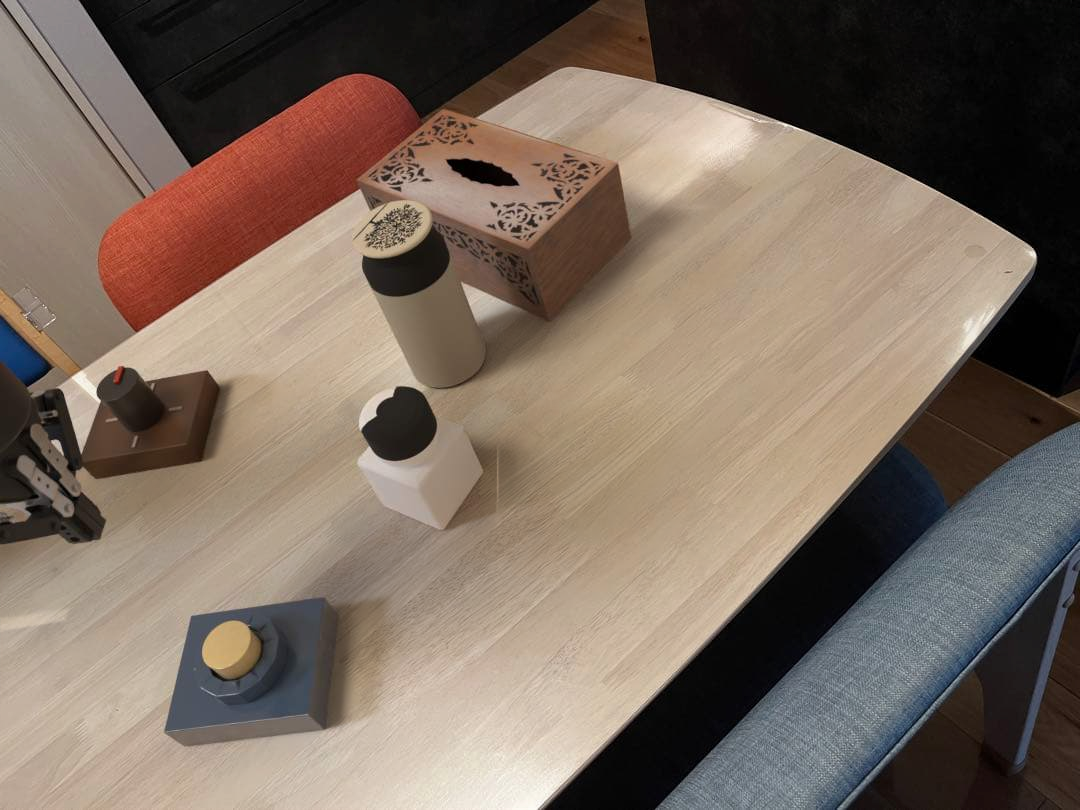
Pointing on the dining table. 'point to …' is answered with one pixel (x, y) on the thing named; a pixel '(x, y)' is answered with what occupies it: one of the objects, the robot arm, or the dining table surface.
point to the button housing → (257, 676)
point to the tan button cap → (232, 649)
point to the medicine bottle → (416, 457)
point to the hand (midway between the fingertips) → (91, 532)
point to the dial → (130, 399)
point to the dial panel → (155, 430)
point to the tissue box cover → (508, 207)
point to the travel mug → (420, 292)
